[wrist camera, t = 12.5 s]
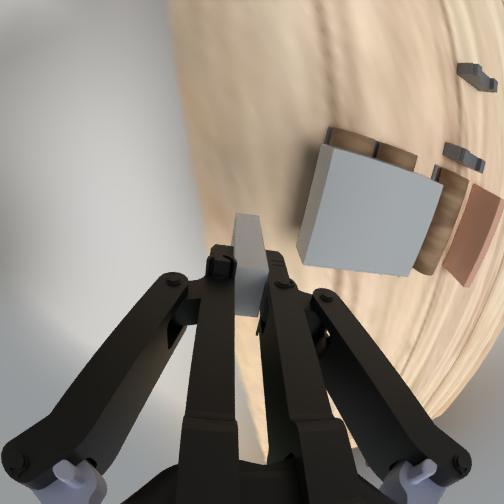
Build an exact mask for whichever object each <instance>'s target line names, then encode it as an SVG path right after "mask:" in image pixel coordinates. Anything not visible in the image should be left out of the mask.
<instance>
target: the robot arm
mask: <svg viewBox="0 0 504 504" xmlns="http://www.w3.org/2000/svg"><path fill="white" fill-rule="evenodd" d="M259 310H260V319H259V323H258V327H257V331H256V336H258V333H259V338H260V350H261V361H262V373H263V385H264V396H265V408H266V420H267V431H268V443H269V452H268V457H267V465H261V464H256V463H251V462H247V461H243V460H239V452H238V451H239V449H238V425H237V421H236V420H235V355H234V337H235V315H240V316H250V317H258V314H259ZM194 324H197V328H196V335H195V342H194V349H193V355H192V363H191V371H190V377H189V385H188V393H187V402H186V410H185V416H184V417H183V423H182V431H181V441H180V451H179V462H178V464H177V465H173V466H171V467H169V468H167V469H165V470H163V471H162V472H160V473H159V474H158V475H156V476H155V477H154V478H153V479H152V480H150V481H149V482H148V483H147V484H146V485H144V486H143V487H142V488H140V489H139V490H138V491H137V492H135V493H134V494H133V495H131V496H130V497H129V498H128V499H126V500H125V501H123V502H122V503H121V504H437V503H438V501H439V500H440V498H441V497H442V495H443V493H444V492H445V490H446V488H447V487H448V486H450V485H451V484H453V483H455V482H457V481H459V480H460V479H462V478H464V477H465V476H467V475H468V473H469V472H470V470H471V466H472V460H471V457H470V454H469V453H468V452H467V450H466V449H464V448H463V447H462V446H460V445H459V444H458V443H457V442H455V441H454V440H453V439H452V438H450V437H449V436H448V435H447V434H445V433H444V432H443V431H442V430H440V429H439V428H438V427H437V426H436V425H434V423H433V421H432V420H431V419H430V417H429V416H428V414H427V413H426V411H425V410H424V408H423V407H422V406H421V404H420V403H419V401H418V400H417V399H416V397H415V396H414V394H413V393H412V392H411V390H410V389H409V387H408V386H407V385H406V383H405V382H404V380H403V379H402V378H401V376H400V375H399V374H398V372H397V371H396V370H395V368H394V367H393V366H392V364H391V363H390V362H389V360H388V359H387V358H386V356H385V355H384V354H383V352H382V351H381V350H380V348H379V347H378V346H377V344H376V343H375V342H374V340H373V339H372V338H371V337H370V335H369V334H368V333H367V331H366V330H365V329H364V328H363V326H362V325H361V324H360V322H359V321H358V320H357V319H356V317H355V316H354V315H353V314H352V312H351V311H350V310H349V308H348V307H347V306H346V305H345V303H344V302H343V301H342V300H341V299H340V297H339V296H338V295H337V294H336V293H335V292H333V291H331V290H329V289H325V288H319V289H316V290H314V291H313V294H308V293H305V292H302V291H300V290H298V288H297V285H296V283H295V282H294V281H293V280H292V279H290V278H289V275H288V272H287V268H286V265H285V261H284V258H283V256H282V255H281V254H280V253H279V252H278V251H270V250H265V246H264V241H263V235H262V230H261V224H260V219H259V216H255V215H248V214H241V213H236V216H235V222H234V229H233V236H232V242H231V246H226V245H218V244H215V245H214V246H213V247H212V248H211V252H210V256H208V258H207V264H206V273H205V276H204V277H203V278H201V279H199V280H193V281H188V278H187V277H186V276H185V275H183V274H181V273H177V272H168V273H165V274H163V275H161V276H160V277H159V278H158V279H157V280H156V282H154V284H153V285H152V286H151V287H150V288H149V289H148V291H147V292H146V293H145V294H144V295H143V296H142V297H141V299H140V300H139V301H138V302H137V303H136V304H135V306H134V307H133V308H132V309H131V310H130V311H129V313H128V314H127V315H126V316H125V317H124V319H123V320H122V321H121V322H120V323H119V325H118V326H117V327H116V328H115V330H114V331H113V332H112V333H111V334H110V336H109V337H108V338H107V339H106V340H105V342H104V343H103V344H102V345H101V347H100V348H99V349H98V351H97V352H96V353H95V354H94V356H93V357H92V358H91V360H90V361H89V362H88V363H87V364H86V366H85V367H84V369H83V370H82V371H81V372H80V374H79V375H78V377H77V378H76V379H75V381H74V382H73V383H72V384H71V386H70V387H69V388H68V390H67V391H66V392H65V394H64V395H63V397H62V398H61V399H60V401H59V402H58V403H57V405H56V406H55V408H54V409H53V411H52V412H51V413H50V415H48V416H47V417H45V418H44V419H42V420H41V421H39V422H38V423H36V424H35V425H33V426H32V427H30V428H29V429H27V430H26V431H24V432H23V433H21V434H20V435H18V436H17V437H15V438H14V439H12V440H11V441H9V442H8V443H7V444H6V445H5V446H4V447H3V450H2V453H1V460H2V464H3V467H4V469H5V471H6V472H7V474H8V475H9V476H10V477H11V478H13V479H14V480H15V481H17V482H19V483H21V484H23V485H25V486H26V487H29V488H30V489H31V490H32V491H33V492H34V493H35V495H36V496H37V497H38V499H39V500H40V501H41V503H42V504H101V502H102V501H103V499H104V497H105V496H106V493H107V485H106V482H105V480H104V478H103V477H102V475H103V474H104V473H105V472H106V471H107V469H108V468H109V467H110V465H111V464H112V463H113V461H114V460H115V458H116V456H117V455H118V453H119V451H120V449H121V447H122V445H123V443H124V441H125V440H126V438H127V436H128V434H129V432H130V430H131V428H132V426H133V425H134V423H135V421H136V419H137V417H138V415H139V413H140V412H141V410H142V408H143V406H144V404H145V402H146V401H147V399H148V397H149V395H150V393H151V391H152V389H153V388H154V386H155V384H156V382H157V381H158V379H159V377H160V375H161V373H162V371H163V370H164V368H165V366H166V364H167V362H168V361H169V359H170V357H171V355H172V354H173V352H174V350H175V348H176V346H177V345H178V343H179V341H180V339H181V337H182V336H183V334H184V332H185V331H186V328H187V325H194ZM327 330H328V332H329V334H330V336H329V335H328V334H327V333H326V332H327ZM326 389H327V391H328V393H329V395H330V397H331V398H332V400H333V402H334V404H335V406H336V407H337V409H338V411H339V413H340V415H341V417H342V418H343V420H344V422H345V424H346V426H347V427H348V429H349V431H350V433H351V435H352V436H353V438H354V440H355V442H356V444H357V446H358V447H359V449H360V451H361V453H362V455H363V456H364V458H365V460H366V461H367V463H368V465H369V466H370V468H371V469H372V470H373V471H374V473H375V474H376V475H377V476H378V477H379V478H380V479H381V480H382V481H383V484H382V485H381V486H380V488H379V490H378V489H377V488H376V487H374V486H373V485H372V484H370V483H369V482H368V481H366V480H365V479H364V478H363V477H361V476H360V475H359V474H358V473H357V470H356V466H355V461H354V457H353V453H352V449H351V445H350V441H349V437H348V434H347V430H346V427H345V424H344V422H343V421H342V420H341V419H339V418H335V417H334V416H333V414H332V411H331V407H330V403H329V399H328V395H327V391H326Z"/></svg>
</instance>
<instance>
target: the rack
mask: <svg viewBox="0 0 504 504" xmlns="http://www.w3.org/2000/svg"><path fill="white" fill-rule="evenodd" d="M457 74H458V75H459V76H460V77H462V78H463V79H465V80H466V81H467V82H468V83H470V84H471V85H472V86H474V87H475V88H476V89H477V90H479V91H484V92H492V93H494V92H497V85H498V82H497V81H496V80H495V79H494V78H489V77H488V76H487V75H486V74H485V73H484V72H482V67H481V66H480V65H479V64H473V63H458V64H457ZM443 155H445V156H447V157H449V158H451V159H453V160H455V161H456V162H458V163H460V164H462V165H464V166H466V167H468V168H470V169H473V170H475V171H477V172H480V173H482V174H483V170H484V166H485V161H484V160H482V159H480V158H478V157H476V156H474V155H473V154H471V153H470V151H468V150H467V149H464V148H461V147H459V146H456V145H453V144H450V143H445V147H444V151H443Z"/></svg>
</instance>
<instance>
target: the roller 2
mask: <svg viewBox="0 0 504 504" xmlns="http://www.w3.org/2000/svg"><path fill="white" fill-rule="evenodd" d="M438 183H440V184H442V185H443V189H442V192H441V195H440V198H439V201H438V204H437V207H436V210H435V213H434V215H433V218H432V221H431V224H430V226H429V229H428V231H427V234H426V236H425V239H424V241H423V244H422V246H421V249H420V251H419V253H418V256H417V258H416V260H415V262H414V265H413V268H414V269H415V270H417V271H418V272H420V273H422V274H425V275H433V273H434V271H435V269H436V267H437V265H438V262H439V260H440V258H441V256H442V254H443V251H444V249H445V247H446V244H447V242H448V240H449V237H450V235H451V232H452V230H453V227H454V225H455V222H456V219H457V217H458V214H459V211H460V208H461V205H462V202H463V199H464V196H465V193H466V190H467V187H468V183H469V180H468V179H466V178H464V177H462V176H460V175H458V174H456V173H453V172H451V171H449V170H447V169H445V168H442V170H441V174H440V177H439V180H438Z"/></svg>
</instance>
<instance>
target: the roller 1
mask: <svg viewBox="0 0 504 504" xmlns="http://www.w3.org/2000/svg"><path fill="white" fill-rule="evenodd" d="M375 141H376V140H374V139H371V138H369V137H366V136H362V135H359V134H356V133H353V132H349V131H346V130H342V129H338V128H333V130H332V134H331V139H330V143H329V145H332V146H336V147H339V148H343V149H347V150H350V151H354V152H357V153H361V154H364V155H367V156H371V157H372V154H373V150H374V146H375Z"/></svg>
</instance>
